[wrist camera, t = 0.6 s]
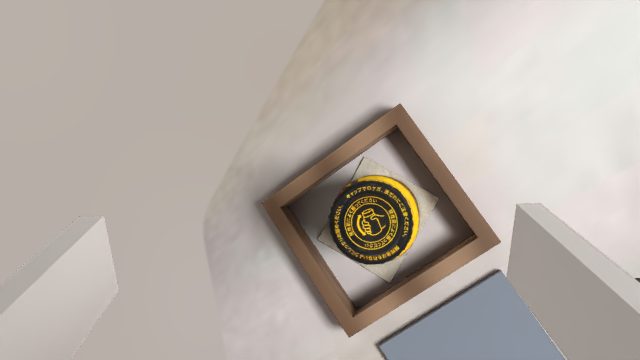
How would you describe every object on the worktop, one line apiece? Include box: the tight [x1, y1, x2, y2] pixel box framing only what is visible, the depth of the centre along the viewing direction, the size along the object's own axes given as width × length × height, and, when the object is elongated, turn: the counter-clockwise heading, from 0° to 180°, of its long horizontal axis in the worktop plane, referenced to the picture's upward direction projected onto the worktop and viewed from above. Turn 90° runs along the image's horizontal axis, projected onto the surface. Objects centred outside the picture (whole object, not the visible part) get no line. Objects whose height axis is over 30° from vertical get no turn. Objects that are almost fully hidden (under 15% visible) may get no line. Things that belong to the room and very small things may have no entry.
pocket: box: [261, 104, 501, 338], centre depth 38 cm, size 14×13×2 cm
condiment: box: [318, 157, 439, 283], centre depth 33 cm, size 7×8×12 cm
